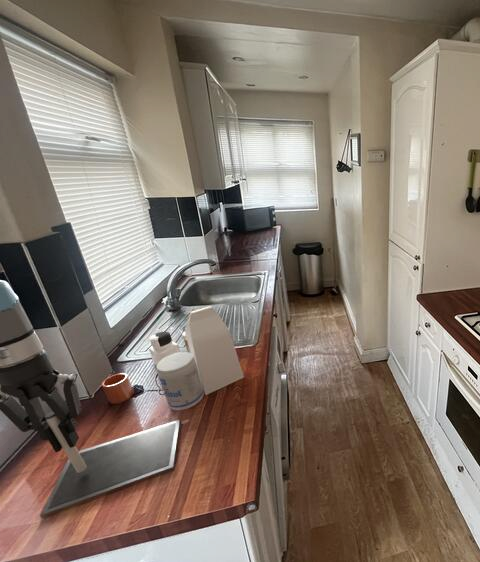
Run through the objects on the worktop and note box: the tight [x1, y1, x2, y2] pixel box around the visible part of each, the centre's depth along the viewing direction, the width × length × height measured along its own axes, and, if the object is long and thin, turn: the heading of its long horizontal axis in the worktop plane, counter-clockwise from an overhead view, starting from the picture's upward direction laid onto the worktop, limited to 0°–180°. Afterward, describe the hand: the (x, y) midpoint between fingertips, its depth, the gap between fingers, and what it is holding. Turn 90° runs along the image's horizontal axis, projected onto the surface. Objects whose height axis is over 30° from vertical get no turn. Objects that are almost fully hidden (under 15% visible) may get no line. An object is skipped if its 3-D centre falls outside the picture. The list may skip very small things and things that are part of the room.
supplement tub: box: [156, 351, 205, 411], centre depth 92 cm, size 10×10×15 cm
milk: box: [184, 305, 245, 396], centre depth 99 cm, size 12×12×26 cm
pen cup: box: [101, 372, 135, 404], centre depth 95 cm, size 6×6×7 cm
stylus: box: [44, 410, 87, 473], centre depth 68 cm, size 2×2×17 cm
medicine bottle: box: [148, 331, 181, 367], centre depth 110 cm, size 7×7×12 cm
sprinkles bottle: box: [181, 331, 190, 353], centre depth 109 cm, size 5×5×13 cm
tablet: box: [39, 419, 182, 520], centre depth 75 cm, size 24×16×1 cm, turn 115°
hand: (67, 444), depth 69 cm, fingers closed on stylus, 2 cm apart
